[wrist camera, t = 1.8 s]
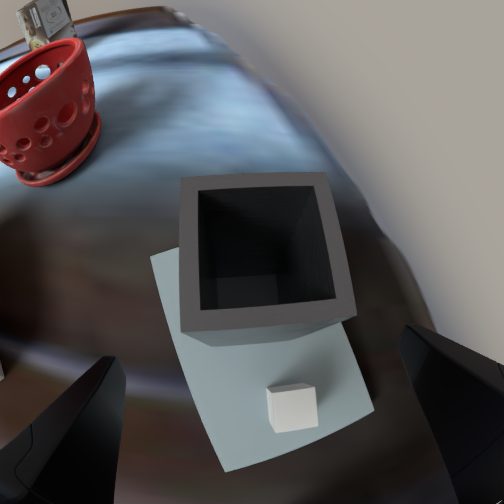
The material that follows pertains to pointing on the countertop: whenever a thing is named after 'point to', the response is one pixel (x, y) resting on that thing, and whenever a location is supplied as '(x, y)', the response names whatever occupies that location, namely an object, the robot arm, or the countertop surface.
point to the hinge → (1, 373)
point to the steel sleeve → (261, 256)
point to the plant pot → (48, 113)
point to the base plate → (263, 376)
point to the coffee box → (45, 23)
